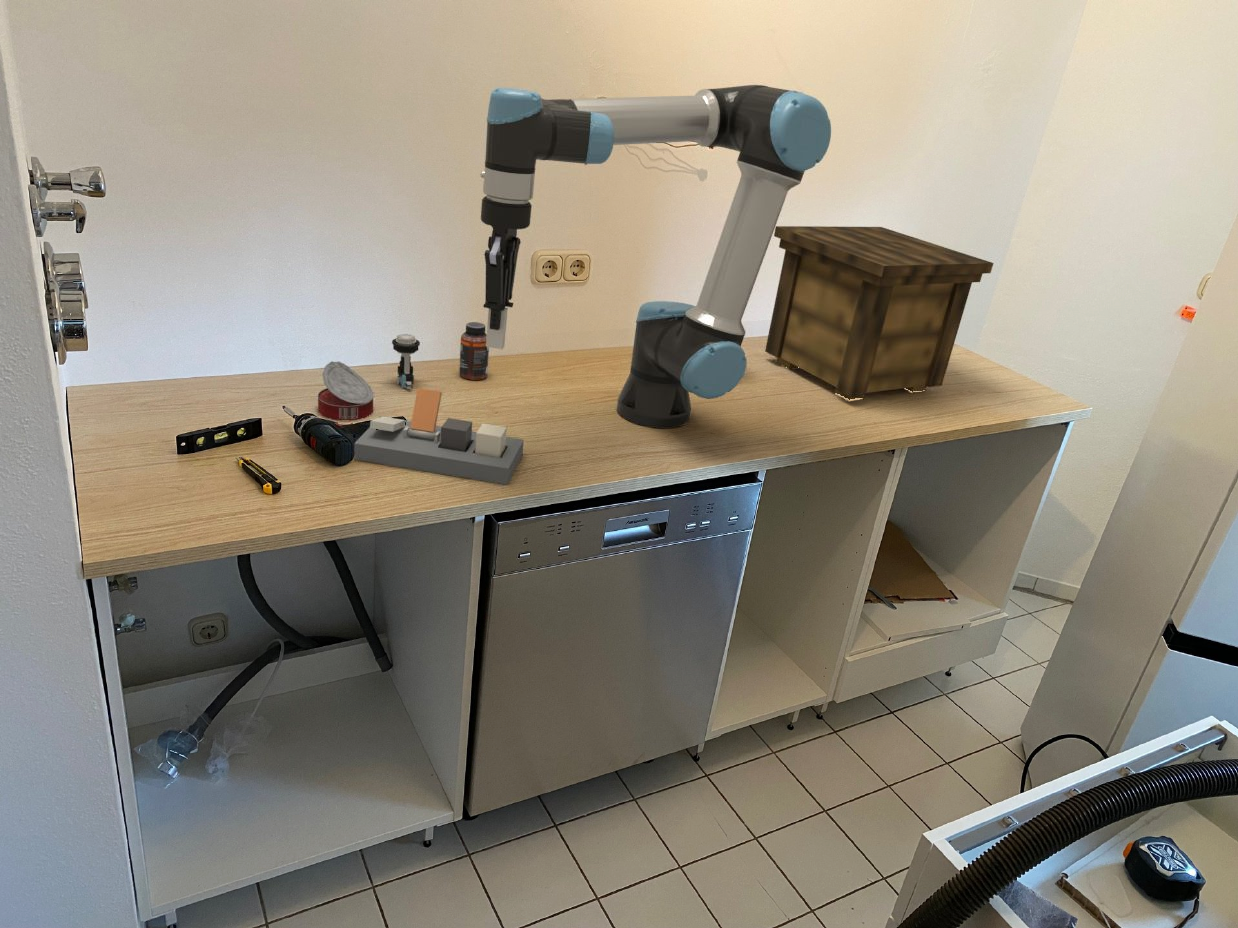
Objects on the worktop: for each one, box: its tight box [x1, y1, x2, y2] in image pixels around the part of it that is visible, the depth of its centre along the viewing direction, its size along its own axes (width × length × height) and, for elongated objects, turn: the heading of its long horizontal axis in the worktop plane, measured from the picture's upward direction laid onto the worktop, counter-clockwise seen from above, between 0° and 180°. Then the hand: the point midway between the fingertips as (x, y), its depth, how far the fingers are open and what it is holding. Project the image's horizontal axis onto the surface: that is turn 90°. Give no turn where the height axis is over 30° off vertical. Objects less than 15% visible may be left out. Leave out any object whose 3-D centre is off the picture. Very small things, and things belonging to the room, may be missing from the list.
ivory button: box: [475, 423, 508, 457], centre depth 154 cm, size 4×4×4 cm
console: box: [353, 416, 525, 485], centre depth 155 cm, size 26×12×4 cm, turn 83°
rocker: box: [369, 416, 406, 432], centre depth 155 cm, size 4×6×1 cm, turn 173°
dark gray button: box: [440, 417, 473, 452], centre depth 154 cm, size 4×4×4 cm
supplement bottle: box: [458, 321, 490, 381], centre depth 190 cm, size 6×6×11 cm
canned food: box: [317, 360, 374, 422], centre depth 168 cm, size 11×10×10 cm
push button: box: [391, 333, 421, 390], centre depth 181 cm, size 7×5×10 cm
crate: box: [764, 225, 994, 400], centre depth 216 cm, size 35×35×33 cm
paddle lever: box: [408, 387, 443, 439], centre depth 155 cm, size 4×1×8 cm, turn 84°
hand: (495, 346), depth 147 cm, fingers closed
